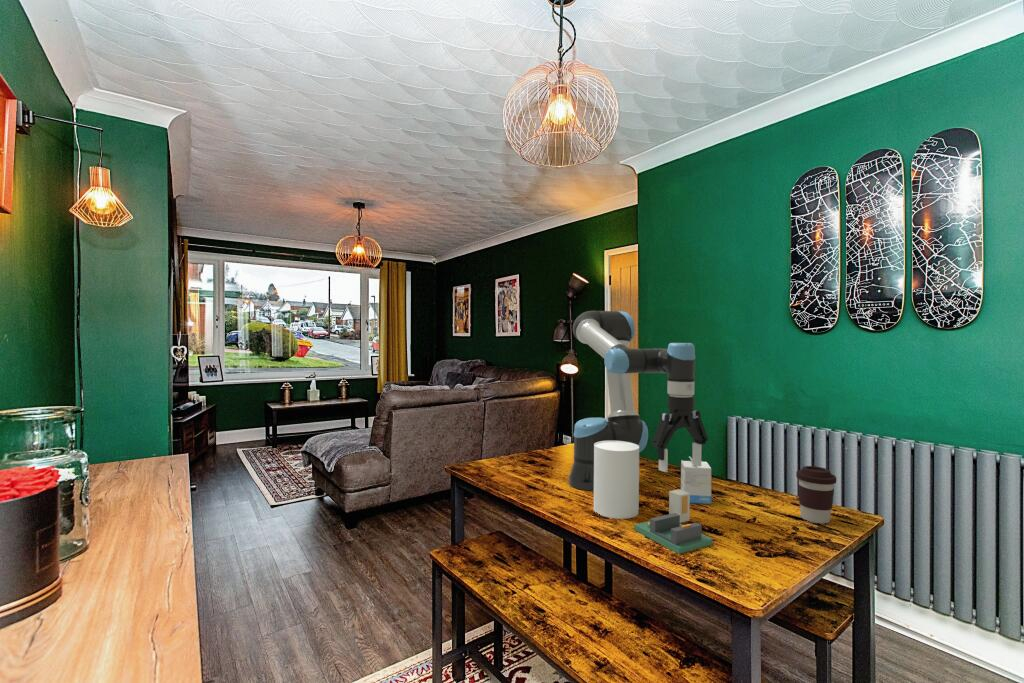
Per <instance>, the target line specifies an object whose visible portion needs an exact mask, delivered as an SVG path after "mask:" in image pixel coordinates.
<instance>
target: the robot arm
mask: <svg viewBox="0 0 1024 683" xmlns="http://www.w3.org/2000/svg"><path fill="white" fill-rule="evenodd" d="M572 332H573V335H574V337H575V339H576V340H578V341H579V342H580V343H581V344H586V345H588V346H589V347H590V348H591V349H592V350H594V351H595V353H597V354H598V355H600V356H601V358H602V359H604V360H603V361H604V367H605V369H606V376H607V377H606V379H607V380H606V381H607V385H608V386H607V387H608V388H607V389H608V397H609V398H608V399H609V405H610V413H609V414H608V416H607V417H606V418H605V417H601V416H600V417H585V418H583V419H580V420H578V421H576V423H575V424H574V428H573V429H574V431H573V463H572V466H571V468H570V469H571V470H570V473H569V475H568V484H569V486H571V487H573V488H575V489H580V490H584V491H594V444H595V443H596V442H600V441H625V442H630V443H634V444H637V445H638V446H639V453H641V452H643V450H645V448H646V447H647V444H648V439H649V430H648V426H647V423H646V422H645V421H644V420H642V419H641V418H640V414H639V413H638V412H636V411H635V404H634V394H633V389H632V388H633V386H632V378H631V374H667V391H666V393H667V395H668V396H667V400H666V401H667V402H666V403H667V404H666V406H667V408H668V410H669V411H668V413H665V412H661V413H660V416H659V422H658V425H657V427H656V430H655V432H654V433H655V434H654V436H653V438H652V441H651V446H652V447H655V448H656V449H657V451H656V452H657V453H656V455H657V460H658V471H660V472H664V473H668V469H669V468H668V467H669V466H668V465H669V464H668V459H669V458H668V457H669V456H668V454H669V453H668V448H667V446H668V445H669V442H670V441H671V440H672V438H673V435H674V434H675V432H676V431H678V430H679V429H683V428H686V430H687V432H688V433H689V436H691V438H692V439H693V441H694V442H692V445H691V446H692V453H691V454H692V456H691V458H692V464H693V465H696V466H701V462H702V454H703V445H706V444H707V442H708V440H709V437H708V434H707V432H706V428H705V427H704V423H703V421H702V416H701V415H702V414H701V411H700V410H695V404H696V403H695V402H696V400H695V399H696V398H695V396H694V395H695V382H696V381H695V380H696V379H695V376H696V350H695V345H694V344H693V343H692V342H669V344H668V346H667V348H663V347H656V348H629V346H630V345H631V341H632V340H633V339H634V337H635V335H636V334H635V332H636V327H635V322H634V319H633V317H632V315H631V314H629V313H628V312H626V311H621V310H587V311H584V312H582V313H580V315H579V314H578V316H577V317H576V319H575V320H574V322H573V324H572Z"/></svg>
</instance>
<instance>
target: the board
mask: <svg viewBox="0 0 1024 683" xmlns="http://www.w3.org/2000/svg"><path fill="white" fill-rule="evenodd" d="M702 528H703V527H702V524H701V523H699V522H692V523H687V524H682V523H680V515H678V514H676V513H673V514H669V513H668V514H664V515H660V516H655V517H652V518H649V521H644V522H640V523H636V524H634V531H636V532H638V533H639V534H641V535H643V536H644V537H647V538H648V539H650V540H652V541H653V542H656V543H658V544H660V545H662V546H664V547H665V548H667V549H669V550H671V551H673V552H674V553H676V554H678V555H680V554H684V553H687V552H690V551H694V550H698V549H702V548H704V547H708V546H712V545H714V542H713V541H714V539H713V537H711V536H708V535H706V534H704V533H702V531H703V530H702Z"/></svg>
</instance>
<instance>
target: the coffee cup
mask: <svg viewBox="0 0 1024 683" xmlns="http://www.w3.org/2000/svg"><path fill="white" fill-rule="evenodd" d="M795 474H796V475H795V477H796V478H797V479H798V484H797V487H798V488H797V489H798V490H797V491H798V503H799V506H800V507H799V508H800V509H799V510H800V517H801V518H802V520H804V521H806V520H807V522H810V523H813V524H818V523H819V524H818V525H820V524H821V525H823V524H824V525H825V523H826V524H828V523H830V522H831V514H832V509H833V504H834V503H833V502H834V493H835V489H834V488H835V487H834V486H835V484H837V476H836V475H834V474H832V473H831V471H830V470H829V469H828V468H826V467H820V466H816V465H805V466H802V468H801V469H799V470H796V473H795Z"/></svg>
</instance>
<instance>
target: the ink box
mask: <svg viewBox="0 0 1024 683" xmlns="http://www.w3.org/2000/svg"><path fill="white" fill-rule="evenodd" d="M688 458H689V459H690V460H683V459H681V461H680V462H681V463H680V490H682V491H685V492H688V493H690V504H706V505H712V467H711V466H710V464H709V463H708V462H707V461H701V466H696V465H693V464H692V456H688Z"/></svg>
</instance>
